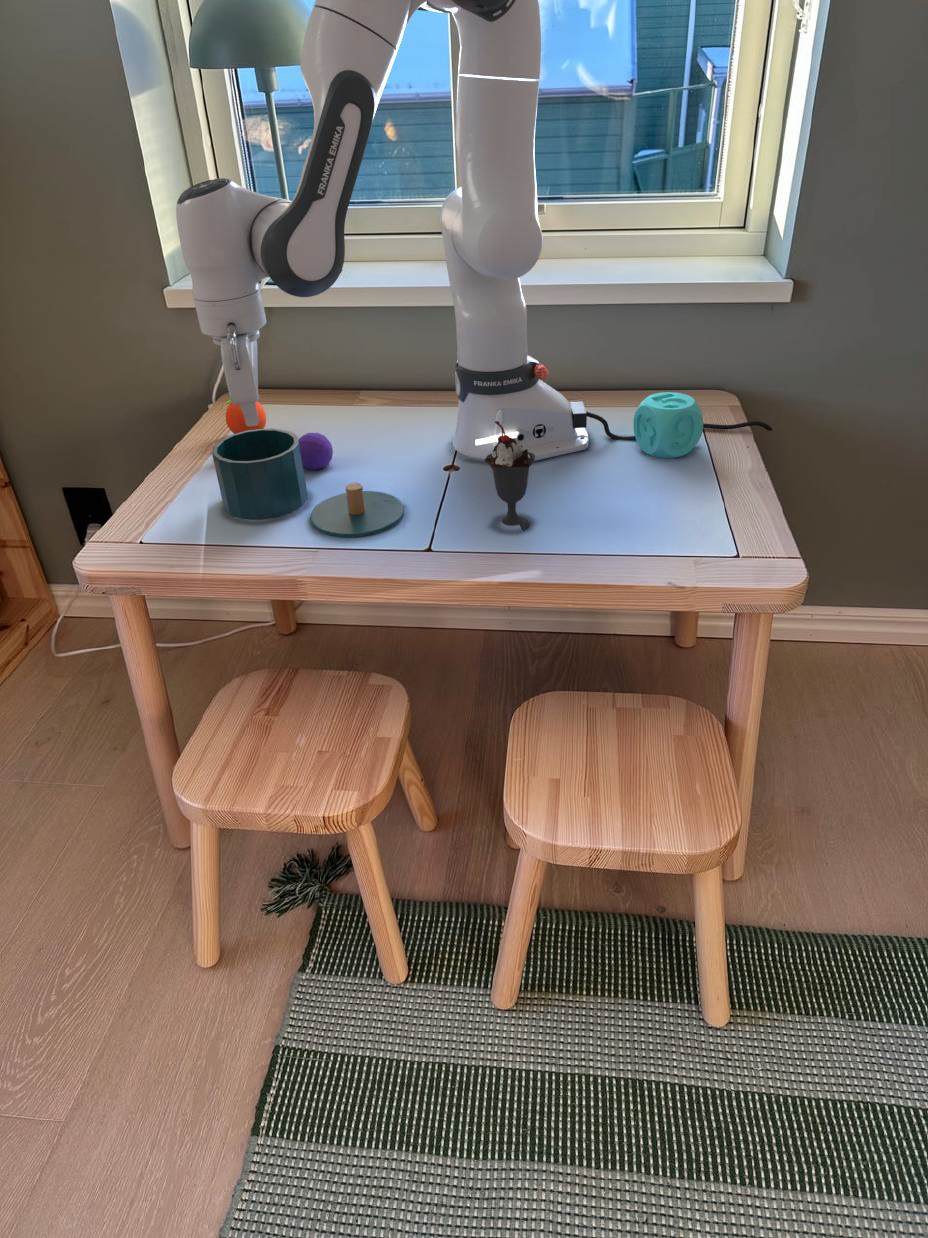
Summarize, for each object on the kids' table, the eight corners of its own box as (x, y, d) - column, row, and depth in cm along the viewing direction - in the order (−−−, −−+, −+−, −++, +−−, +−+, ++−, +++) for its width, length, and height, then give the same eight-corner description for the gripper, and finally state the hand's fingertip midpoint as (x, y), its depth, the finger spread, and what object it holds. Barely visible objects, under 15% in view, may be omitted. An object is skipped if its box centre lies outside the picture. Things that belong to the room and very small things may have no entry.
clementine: (217, 444, 159) (209, 404, 155) (232, 428, 165) (224, 390, 161) (261, 444, 158) (254, 405, 154) (274, 429, 163) (268, 390, 159)
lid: (397, 493, 139) (394, 461, 136) (410, 533, 128) (407, 500, 125) (309, 504, 138) (304, 473, 135) (314, 547, 127) (309, 513, 124)
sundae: (488, 514, 132) (484, 414, 124) (534, 512, 132) (533, 413, 123) (487, 536, 127) (483, 434, 118) (536, 534, 126) (535, 432, 118)
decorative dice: (672, 434, 152) (676, 388, 148) (701, 451, 146) (706, 403, 142) (631, 444, 150) (633, 397, 145) (658, 462, 144) (662, 413, 139)
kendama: (229, 429, 154) (336, 428, 147) (235, 464, 156) (340, 465, 149) (209, 436, 148) (319, 436, 142) (215, 472, 151) (324, 474, 144)
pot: (305, 481, 145) (296, 424, 139) (310, 516, 134) (300, 456, 129) (225, 491, 143) (213, 434, 138) (224, 528, 133) (210, 467, 127)
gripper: (255, 333, 115) (276, 436, 123) (254, 292, 132) (273, 385, 139) (204, 339, 114) (229, 443, 122) (210, 297, 131) (231, 391, 139)
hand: (252, 412), depth 131 cm, fingers open, 8 cm apart
